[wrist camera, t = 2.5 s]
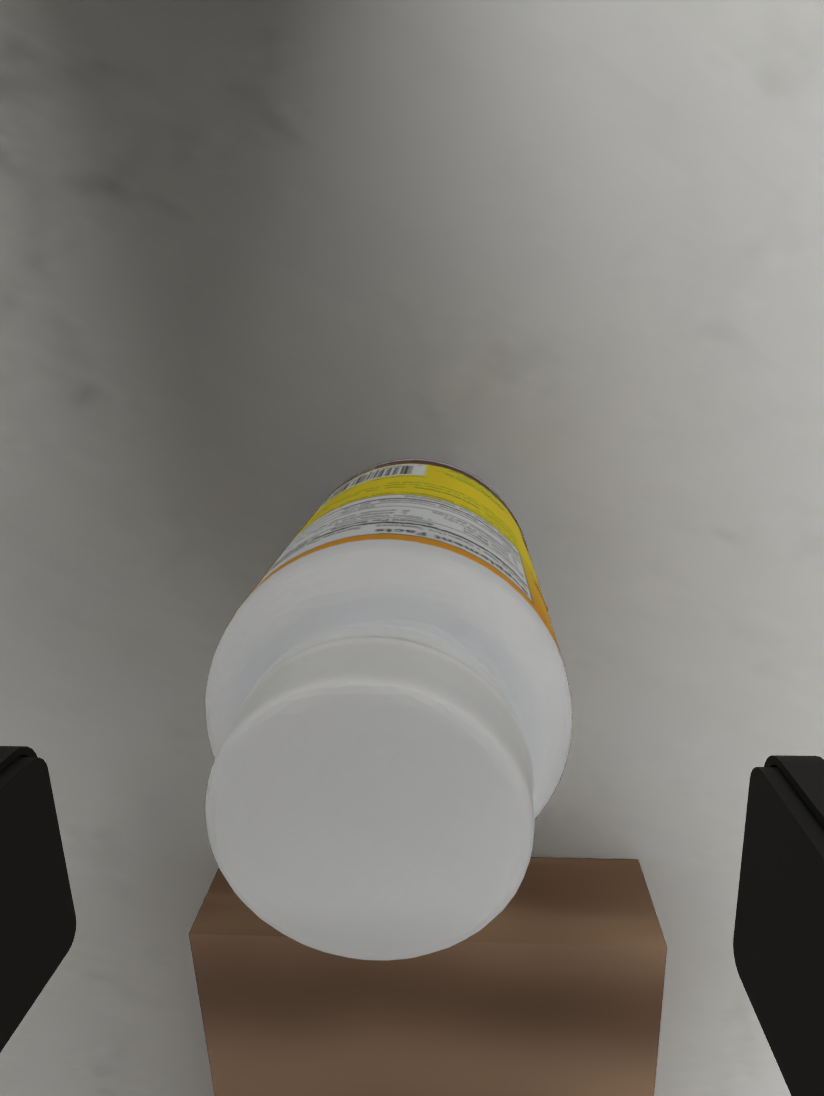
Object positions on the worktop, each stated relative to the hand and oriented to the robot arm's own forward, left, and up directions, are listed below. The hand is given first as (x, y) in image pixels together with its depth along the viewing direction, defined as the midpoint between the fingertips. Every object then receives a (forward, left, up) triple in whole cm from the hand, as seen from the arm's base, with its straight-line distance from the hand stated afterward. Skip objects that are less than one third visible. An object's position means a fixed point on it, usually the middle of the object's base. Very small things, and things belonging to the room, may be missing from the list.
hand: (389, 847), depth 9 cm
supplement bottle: (-1, 0, -10) cm, 10 cm away
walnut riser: (+16, 0, -9) cm, 19 cm away
